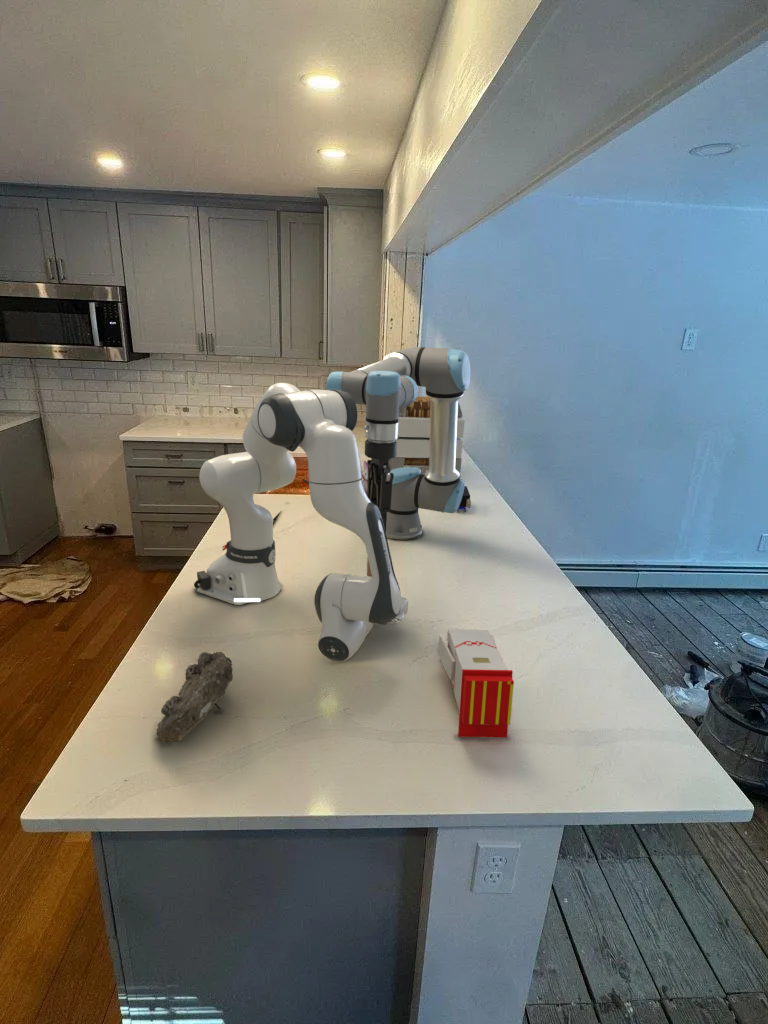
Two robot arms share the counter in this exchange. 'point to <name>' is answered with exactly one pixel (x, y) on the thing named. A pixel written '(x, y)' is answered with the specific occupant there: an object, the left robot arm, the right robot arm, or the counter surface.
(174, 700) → the fossil
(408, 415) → the white slatted crate
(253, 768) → the counter surface
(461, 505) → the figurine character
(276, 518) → the feather
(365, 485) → the figurine
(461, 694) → the toy
